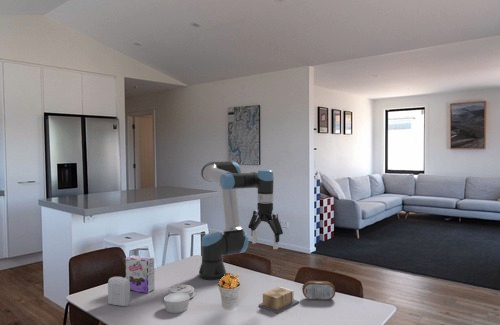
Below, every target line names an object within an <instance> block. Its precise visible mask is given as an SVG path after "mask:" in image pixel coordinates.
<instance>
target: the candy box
mask: <svg viewBox="0 0 500 325" xmlns="http://www.w3.org/2000/svg"><path fill="white" fill-rule="evenodd" d="M124 261H125V262H124V263H125V278H126V279H128V280H129V281H130V292H137V293H142V294H150V293H152V292H153V291H155V290H156V288H155V257H148V256H140V255H129V256H127V257H125V260H124Z"/></svg>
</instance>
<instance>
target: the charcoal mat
mask: <svg viewBox="0 0 500 325" xmlns="http://www.w3.org/2000/svg"><path fill="white" fill-rule="evenodd" d="M298 304H300V301H299V300H296V299H294V302H292V303H290V304H288V305H286V306H284V307H282V308H280V309H278V310H276V309H273V308H270V307H267V306H265V305H263V302H261V303H259V304H258V307H260V308H263V309H265V310H267V311H270V312H272V313H275V314H279V313H282V312H284V311H286V310H288V309H290V308H292V307H294V306H296V305H298Z"/></svg>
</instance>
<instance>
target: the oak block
mask: <svg viewBox="0 0 500 325" xmlns="http://www.w3.org/2000/svg"><path fill="white" fill-rule="evenodd" d="M294 300H295V299H294V290H293V289H289V288H286V287H282V286H277V287H275V288H273V289H270V290H267V291H265V292H263V293H262V303H263V305H265V306H267V307H270V308H273V309H276V310H278V309H280V308H282V307H284V306H286V305H288V304H290V303H292V302H294Z"/></svg>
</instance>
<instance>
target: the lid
mask: <svg viewBox="0 0 500 325" xmlns="http://www.w3.org/2000/svg"><path fill="white" fill-rule="evenodd" d="M166 292H167V295H169V294H173V293H186V294H188V295H189V296H190V299H192V298H194V297H195V288H194V287H193V285H189V284H182V283H181V284H176V285H175V284H174V285H173V286H170V287H169V288H168V289H167V291H166Z"/></svg>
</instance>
